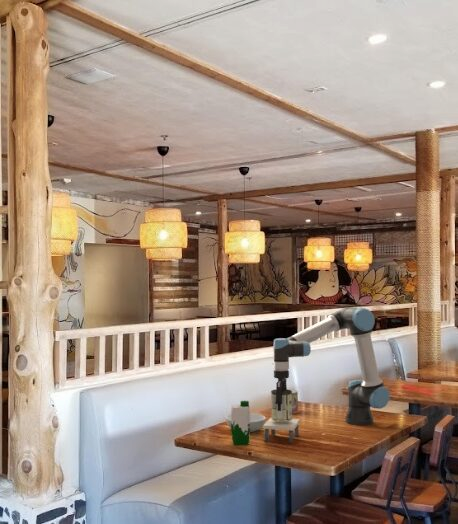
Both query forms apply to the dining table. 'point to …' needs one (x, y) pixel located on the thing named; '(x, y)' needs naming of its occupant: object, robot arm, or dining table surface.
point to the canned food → (294, 401)
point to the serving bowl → (252, 421)
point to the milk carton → (240, 423)
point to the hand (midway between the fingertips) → (281, 414)
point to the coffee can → (285, 405)
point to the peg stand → (281, 428)
